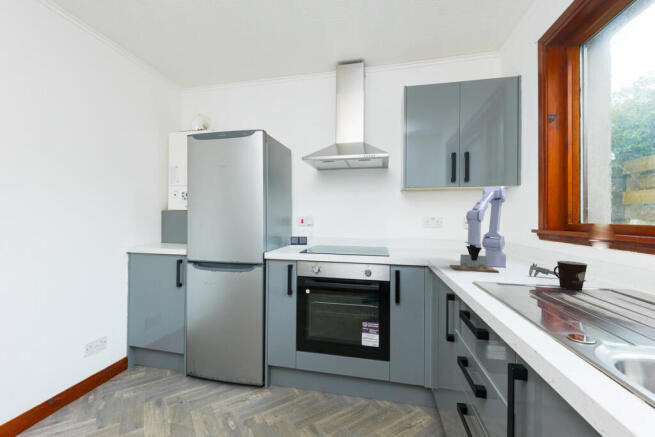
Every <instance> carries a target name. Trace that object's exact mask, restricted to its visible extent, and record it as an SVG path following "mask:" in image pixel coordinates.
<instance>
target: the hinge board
mask: <svg viewBox="0 0 655 437" xmlns="http://www.w3.org/2000/svg"><path fill="white" fill-rule="evenodd" d="M449 267H450V268H451V269H452V270H454V271H461V272H462V271H463V272H476V273H477V272H479V273H497V274H499V273H500V270H498V269H495V268H493V266H487V265H486V264H480V268H476V267H469V263H462V267H461V266H460V264H449Z"/></svg>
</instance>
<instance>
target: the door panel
mask: <svg viewBox="0 0 655 437" xmlns="http://www.w3.org/2000/svg"><path fill="white" fill-rule="evenodd" d="M487 257H488V256H485V255H482V254H481V255H480V254H479V255H478V258H477V261H472V259H471V255H469V254H463V253H461V254H460V258H459V259H460V260H459V265H460V266H461V267H462V263H469V267H476V268H480V264H486V265H487Z"/></svg>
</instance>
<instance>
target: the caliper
mask: <svg viewBox="0 0 655 437" xmlns="http://www.w3.org/2000/svg"><path fill="white" fill-rule="evenodd" d="M534 271H535V272H534ZM528 272H529V274H528V275H529V276H530V277H532V275H533V277H535V278H536V277H537V276H538V274H539V273H540V274H543V275H546V276H548V275H554V276H556V275H555V274H554V270H553V271H552V270H550V269H548V268H545V267H541V266H538V264H537V263H536V264H535V263H533V264H532V265H530V266H529V271H528ZM533 272H534V273H533ZM556 274H557V275H558V276H559V273H558V271H556ZM584 282H587V280H586V279H584Z"/></svg>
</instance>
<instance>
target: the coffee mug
mask: <svg viewBox="0 0 655 437" xmlns="http://www.w3.org/2000/svg"><path fill="white" fill-rule="evenodd" d="M556 262H557V266H554V268H553V271H554V274H555V275H554V276H555V277H557V278H558V279H559V280H558V281H559V287H560V288H561V287H562V288H561V289H564V288H565V289H564V290H568V289H569V291H576V292H578V291H581V292H582V291H583V287H584V284H585V281H584V280H585V277H586V273H587V268H588V264H587V263H584V262H580V261H570V260H557V261H556ZM557 270H558V271H557ZM556 272H558V273H559V276H558V275H557V274H556Z"/></svg>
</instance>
